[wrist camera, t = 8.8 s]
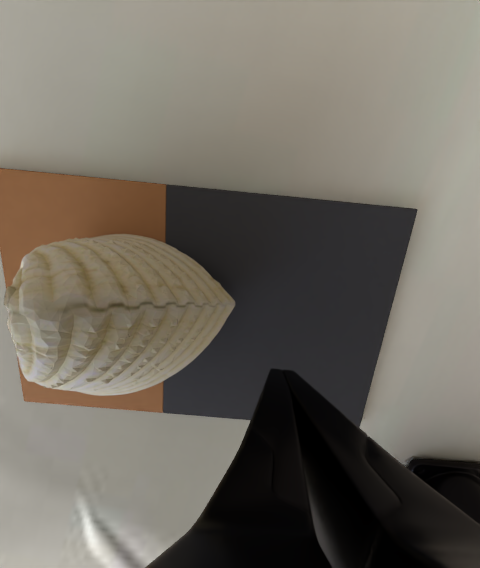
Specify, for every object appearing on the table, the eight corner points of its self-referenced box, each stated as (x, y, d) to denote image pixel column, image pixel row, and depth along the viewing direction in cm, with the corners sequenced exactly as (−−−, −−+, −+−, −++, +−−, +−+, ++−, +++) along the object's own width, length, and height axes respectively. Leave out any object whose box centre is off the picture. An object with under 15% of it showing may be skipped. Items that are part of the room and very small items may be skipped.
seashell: (-26, 219, 10) (48, 143, 6) (145, 256, 17) (236, 234, 13) (-51, 418, 9) (16, 501, 5) (142, 372, 16) (240, 390, 12)
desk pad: (412, 209, 13) (418, 209, 12) (356, 424, 16) (359, 429, 16) (-6, 168, 12) (-14, 166, 12) (29, 397, 16) (23, 401, 15)
